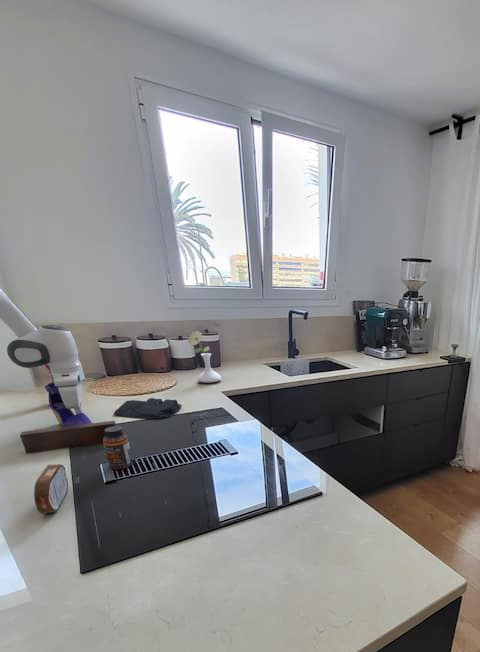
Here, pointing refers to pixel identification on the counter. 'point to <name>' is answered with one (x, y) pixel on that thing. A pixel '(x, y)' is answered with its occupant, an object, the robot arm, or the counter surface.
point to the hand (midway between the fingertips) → (79, 413)
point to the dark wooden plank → (64, 436)
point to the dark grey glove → (148, 408)
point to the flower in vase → (208, 373)
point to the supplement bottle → (117, 448)
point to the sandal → (64, 409)
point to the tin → (50, 489)
